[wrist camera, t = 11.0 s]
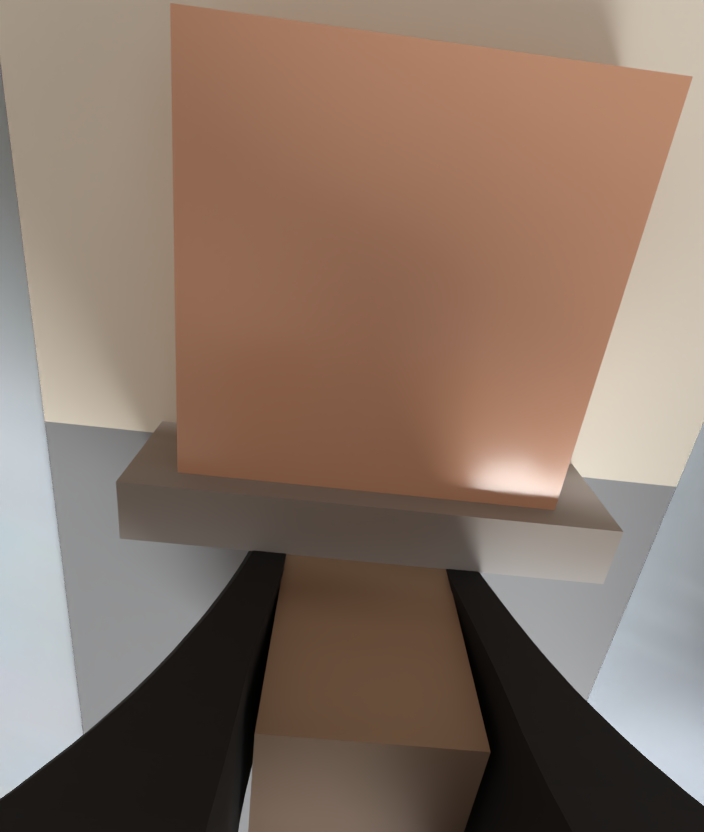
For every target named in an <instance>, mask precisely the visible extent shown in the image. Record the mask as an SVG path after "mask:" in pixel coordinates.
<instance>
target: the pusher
mask: <svg viewBox="0 0 704 832" xmlns="http://www.w3.org/2000/svg"><path fill="white" fill-rule="evenodd" d="M116 490H117V504H118V519H119V534H120V539H129V540H139V541H150V542H161V543H171V544H182V545H193V546H203V547H214V548H224V549H235V550H246V551H253V550H255V551H265V552H275V553H285V554H286V558H285V564H284V570H283V575H282V578H281V584H280V590H279V596H278V601H277V607H276V613H275V619H274V625H273V630H272V636H271V642H270V648H269V653H268V659H267V665H266V671H265V676H264V682H263V688H262V694H261V700H260V705H259V711H258V717H257V723H256V728H255V735H254V750H253V766H252V781H251V796H250V811H249V827H248V832H464V830H465V827H466V824H467V821H468V818H469V815H470V812H471V809H472V806H473V803H474V800H475V797H476V794H477V791H478V788H479V786H480V783H481V780H482V777H483V774H484V771H485V768H486V765H487V762H488V759H489V756H490V753H491V752H490V747H489V743H488V739H487V735H486V731H485V727H484V722H483V718H482V714H481V710H480V706H479V702H478V697H477V693H476V689H475V685H474V681H473V677H472V672H471V668H470V664H469V660H468V656H467V652H466V647H465V643H464V639H463V635H462V631H461V627H460V622H459V618H458V614H457V610H456V606H455V602H454V597H453V594H452V591H451V588H450V584H449V580H448V575H447V571H446V569H455V570H466V571H477V572H480V573H491V574H501V575H512V576H523V577H533V578H544V579H554V580H565V581H576V582H586V583H597V584H604V581H605V579H606V576H607V573H608V571H609V568H610V566H611V563H612V561H613V558H614V555H615V553H616V550H617V548H618V545H619V542H620V540H621V537H622V535H623V530H622V529H621V528H620V526H619V525H618V524H617V523H616V521H615V520H614V519H613V517H612V516H611V515H610V513H609V512H608V511H607V509H606V508H605V507H604V505H603V504H602V503H601V501H600V500H599V499H598V497H597V496H596V495H595V494H594V492H593V491H592V490H591V488H590V487H589V486H588V484H587V483H586V482H585V480H584V479H583V478H582V476H581V475H580V474H579V472H578V471H577V470H576V468H575V467H574V466H573V464H569V467H568V470H567V473H566V476H565V479H564V483H563V486H562V489H561V492H560V495H559V498H558V501H557V505H556V508H555V510H549V509H539V508H529V507H519V506H509V505H499V504H489V503H479V502H469V501H459V500H449V499H439V498H429V497H419V496H409V495H399V494H389V493H379V492H369V491H359V490H349V489H339V488H329V487H319V486H309V485H299V484H289V483H279V482H269V481H259V480H249V479H239V478H229V477H219V476H209V475H199V474H189V473H179V472H178V470H177V423H175V422H165V421H162V422H161V423H160V425H159V426H158V427H157V429H156V430H155V431H154V433H153V434H152V435H151V436H150V438H149V439H148V440H147V442H146V443H145V444H144V446H143V447H142V448H141V450H140V451H139V452H138V453H137V455H136V456H135V457H134V459H133V460H132V461H131V463H130V464H129V465H128V467H127V468H126V469H125V470H124V472H123V473H122V474H121V476H120V477H119V478H118V480H117V481H116Z"/></svg>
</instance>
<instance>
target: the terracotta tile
mask: <svg viewBox="0 0 704 832" xmlns="http://www.w3.org/2000/svg"><path fill="white" fill-rule="evenodd" d="M170 22H171V86H172V150H173V214H174V278H175V342H176V406H177V470H178V472H179V473H189V474H199V475H209V476H219V477H229V478H239V479H249V480H259V481H269V482H279V483H289V484H299V485H309V486H319V487H329V488H339V489H349V490H359V491H369V492H379V493H389V494H399V495H409V496H419V497H429V498H439V499H449V500H459V501H469V502H479V503H489V504H499V505H509V506H519V507H529V508H539V509H549V510H555V508H556V505H557V501H558V498H559V495H560V492H561V489H562V486H563V483H564V479H565V476H566V473H567V470H568V467H569V464H570V461H571V457H572V454H573V451H574V448H575V445H576V442H577V439H578V435H579V432H580V429H581V426H582V423H583V420H584V417H585V413H586V410H587V407H588V404H589V401H590V398H591V395H592V392H593V388H594V385H595V382H596V379H597V376H598V373H599V370H600V366H601V363H602V360H603V357H604V354H605V351H606V348H607V344H608V341H609V338H610V335H611V332H612V329H613V326H614V322H615V319H616V316H617V313H618V310H619V307H620V304H621V300H622V297H623V294H624V291H625V288H626V285H627V282H628V279H629V275H630V272H631V269H632V266H633V263H634V260H635V257H636V253H637V250H638V247H639V244H640V241H641V238H642V235H643V231H644V228H645V225H646V222H647V219H648V216H649V213H650V209H651V206H652V203H653V200H654V197H655V194H656V191H657V188H658V184H659V181H660V178H661V175H662V172H663V169H664V166H665V162H666V159H667V156H668V153H669V150H670V147H671V144H672V140H673V137H674V134H675V131H676V128H677V125H678V122H679V118H680V115H681V112H682V109H683V106H684V103H685V100H686V96H687V93H688V90H689V87H690V84H691V81H692V78H693V76H686V75H678V74H671V73H664V72H657V71H650V70H643V69H636V68H629V67H622V66H615V65H607V64H600V63H593V62H586V61H579V60H572V59H565V58H558V57H551V56H544V55H536V54H529V53H522V52H515V51H508V50H501V49H494V48H487V47H480V46H472V45H465V44H458V43H451V42H444V41H437V40H430V39H423V38H416V37H409V36H401V35H394V34H387V33H380V32H373V31H366V30H359V29H352V28H345V27H338V26H330V25H323V24H316V23H309V22H302V21H295V20H288V19H281V18H274V17H267V16H259V15H252V14H245V13H238V12H231V11H224V10H217V9H210V8H203V7H195V6H188V5H181V4H174V3H170Z"/></svg>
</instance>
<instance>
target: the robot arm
mask: <svg viewBox="0 0 704 832" xmlns="http://www.w3.org/2000/svg"><path fill="white" fill-rule="evenodd" d="M285 558H286V554H285V553H275V552H265V551H255V550H253V551H248V553H247V555H246V557H245V558H244V560H243V562H242V563H241V565H240V566H239V568H238V569H237V571H236V572H235V574H234V575H233V577H232V578H231V579H230V581H229V582H228V584H227V585H226V587H225V588H224V589H223V591H222V592H221V593H220V594H219V596H218V597H217V598H216V600H215V601H214V602H213V604H212V605H211V606H210V607H209V609H208V610H207V611H206V613H205V614H204V615H203V616H202V617H201V619H200V620H199V621H198V622H197V623H196V625H195V626H194V627H193V628H192V629H191V630H190V631H189V633H188V634H187V635H186V636H185V637H184V638H183V639H182V641H181V642H180V643H179V644H178V645H177V646H176V647H175V649H174V650H173V651H172V652H171V653H170V654H169V655H168V656H167V657H166V658H165V659H164V660H163V661H162V662H161V663H160V665H159V666H158V667H157V668H156V669H155V670H154V671H153V672H152V673H151V674H150V675H149V676H148V677H147V678H146V679H145V680H144V681H142V682H141V683H140V684H139V685H138V686H137V687H136V688H135V689H134V690H133V691H132V692H131V693H130V694H129V695H128V696H127V697H126V698H125V699H123V700H122V701H121V702H120V703H119V704H118V705H117V706H116V707H115V708H113V709H112V710H111V711H110V712H109V713H108V714H107V715H106V716H104V717H103V718H102V719H101V720H100V721H99V722H98V723H97V724H96V725H94V726H93V727H92V728H91V729H90V730H88V731H87V732H86V733H85V734H84V735H83V736H81V737H80V738H79V739H78V740H76V741H75V742H74V743H73V744H72V745H70V746H69V747H68V748H66V749H65V750H64V751H63V752H61V753H60V754H59V755H57V756H56V757H55V758H54V759H52V760H51V761H50V762H48V763H47V764H46V765H44V766H43V767H42V768H41V769H39V770H38V771H37V772H35V773H34V774H33V775H32V776H30V777H29V778H28V779H26V780H25V781H24V782H22V783H21V784H20V785H19V786H17V787H16V788H15V789H13V790H12V791H11V792H9V793H8V794H6V795H5V796H4V797H2V798H1V799H0V832H238V830H239V823H240V818H241V813H242V808H243V803H244V798H245V793H246V789H247V785H248V781H249V777H250V772H251V768H252V764H253V750H254V735H255V728H256V723H257V717H258V711H259V705H260V700H261V694H262V688H263V682H264V676H265V671H266V665H267V659H268V653H269V648H270V642H271V636H272V630H273V625H274V619H275V613H276V607H277V601H278V596H279V590H280V584H281V578H282V575H283V570H284V564H285ZM446 571H447V575H448V580H449V584H450V588H451V591H452V594H453V597H454V602H455V606H456V610H457V614H458V618H459V622H460V627H461V631H462V635H463V639H464V643H465V647H466V652H467V656H468V660H469V664H470V668H471V672H472V677H473V681H474V685H475V689H476V693H477V697H478V702H479V706H480V710H481V714H482V718H483V722H484V727H485V731H486V735H487V739H488V743H489V747H490V752H491V753H490V756H489V759H488V762H487V765H486V768H485V771H484V774H483V777H482V780H481V783H480V786H479V788H478V791H477V794H476V797H475V800H474V803H473V806H472V809H471V812H470V815H469V818H468V821H467V824H466V827H465V830H464V832H704V806H703V805H702V804H701V803H699V802H698V801H697V800H696V799H694V798H693V797H692V796H691V795H689V794H688V793H687V792H686V791H684V790H683V789H682V788H681V787H680V786H679V785H677V784H676V783H675V782H674V781H673V780H672V779H670V778H669V777H668V776H667V775H666V774H665V773H663V772H662V771H661V770H660V769H659V768H658V767H656V766H655V765H654V764H653V763H652V762H651V761H649V760H648V759H647V758H646V757H645V756H644V755H643V754H641V753H640V752H639V751H638V750H637V749H636V748H635V747H634V746H633V745H632V744H630V743H629V742H628V741H627V740H626V739H625V738H624V737H623V736H622V735H621V734H620V733H619V732H618V731H617V730H616V729H615V728H613V727H612V726H611V725H610V724H609V723H608V722H607V721H606V720H605V719H604V718H603V717H602V716H601V715H600V714H599V713H598V712H597V711H596V710H595V709H594V708H593V707H592V706H591V705H590V704H589V703H588V702H587V701H586V700H585V699H584V698H583V697H582V696H581V695H580V694H579V693H578V692H577V691H576V690H575V689H574V688H573V686H572V685H571V684H570V683H569V682H568V681H567V680H566V679H565V678H564V677H563V675H562V674H561V673H560V672H559V671H558V670H557V669H556V668H555V667H554V665H553V664H552V663H551V662H550V661H549V660H548V659H547V658H546V656H545V655H544V654H543V653H542V652H541V651H540V649H539V648H538V647H537V646H536V645H535V643H534V642H533V641H532V640H531V638H530V637H529V636H528V635H527V634H526V632H525V631H524V630H523V629H522V627H521V626H520V625H519V624H518V622H517V621H516V620H515V619H514V617H513V616H512V615H511V613H510V612H509V611H508V610H507V608H506V607H505V606H504V604H503V603H502V602H501V600H500V599H499V598H498V596H497V595H496V594H495V592H494V591H493V590H492V588H491V587H490V586H489V584H488V583H487V582H486V580H485V579H484V578H483V576H482V575H481V574H480V573H479V572H477V571H466V570H455V569H446Z"/></svg>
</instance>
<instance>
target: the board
mask: <svg viewBox="0 0 704 832" xmlns="http://www.w3.org/2000/svg"><path fill="white" fill-rule="evenodd" d="M170 3H174V4H181V5H188V6H195V7H203V8H210V9H217V10H224V11H231V12H238V13H245V14H252V15H259V16H267V17H274V18H281V19H288V20H295V21H302V22H309V23H316V24H323V25H330V26H338V27H345V28H352V29H359V30H366V31H373V32H380V33H387V34H394V35H401V36H409V37H416V38H423V39H430V40H437V41H444V42H451V43H458V44H465V45H472V46H480V47H487V48H494V49H501V50H508V51H515V52H522V53H529V54H536V55H544V56H551V57H558V58H565V59H572V60H579V61H586V62H593V63H600V64H607V65H615V66H622V67H629V68H636V69H643V70H650V71H657V72H664V73H671V74H678V75H686V76H693V78H692V81H691V84H690V87H689V90H688V93H687V96H686V100H685V103H684V106H683V109H682V112H681V115H680V118H679V122H678V125H677V128H676V131H675V134H674V137H673V140H672V144H671V147H670V150H669V153H668V156H667V159H666V162H665V166H664V169H663V172H662V175H661V178H660V181H659V184H658V188H657V191H656V194H655V197H654V200H653V203H652V206H651V209H650V213H649V216H648V219H647V222H646V225H645V228H644V231H643V235H642V238H641V241H640V244H639V247H638V250H637V253H636V257H635V260H634V263H633V266H632V269H631V272H630V275H629V279H628V282H627V285H626V288H625V291H624V294H623V297H622V300H621V304H620V307H619V310H618V313H617V316H616V319H615V322H614V326H613V329H612V332H611V335H610V338H609V341H608V344H607V348H606V351H605V354H604V357H603V360H602V363H601V366H600V370H599V373H598V376H597V379H596V382H595V385H594V388H593V392H592V395H591V398H590V401H589V404H588V407H587V410H586V413H585V417H584V420H583V423H582V426H581V429H580V432H579V435H578V439H577V442H576V445H575V448H574V451H573V454H572V457H571V461H570V464H573V466H574V467H575V468H576V470H577V471H578V472H579V474H580V475H581V476H582V478H583V479H584V480H585V482H586V483H587V484H588V486H589V487H590V488H591V490H592V491H593V492H594V494H595V495H596V496H597V497H598V499H599V500H600V501H601V503H602V504H603V505H604V507H605V508H606V509H607V511H608V512H609V513H610V515H611V516H612V517H613V519H614V520H615V521H616V523H617V524H618V525H619V526H620V528H621V529H622V530H623V535H622V537H621V540H620V542H619V545H618V548H617V550H616V553H615V555H614V558H613V561H612V563H611V566H610V568H609V571H608V573H607V576H606V579H605V581H604V584H597V583H586V582H576V581H565V580H554V579H544V578H533V577H523V576H512V575H501V574H491V573H480V572H479V573H480V574H481V575H482V576H483V578H484V579H485V580H486V582H487V583H488V584H489V586H490V587H491V588H492V590H493V591H494V592H495V594H496V595H497V596H498V598H499V599H500V600H501V602H502V603H503V604H504V606H505V607H506V608H507V610H508V611H509V612H510V613H511V615H512V616H513V617H514V619H515V620H516V621H517V622H518V624H519V625H520V626H521V627H522V629H523V630H524V631H525V632H526V634H527V635H528V636H529V637H530V638H531V640H532V641H533V642H534V643H535V645H536V646H537V647H538V648H539V649H540V651H541V652H542V653H543V654H544V655H545V656H546V658H547V659H548V660H549V661H550V662H551V663H552V664H553V665H554V667H555V668H556V669H557V670H558V671H559V672H560V673H561V674H562V675H563V677H564V678H565V679H566V680H567V681H568V682H569V683H570V684H571V685H572V686H573V688H574V689H575V690H576V691H577V692H578V693H579V694H580V695H581V696H582V697H583V698H584V699H585V700H586V701H587V699H588V697H589V695H590V692H591V690H592V687H593V685H594V683H595V680H596V678H597V675H598V673H599V671H600V668H601V666H602V664H603V661H604V659H605V656H606V654H607V652H608V649H609V647H610V644H611V642H612V640H613V637H614V635H615V632H616V630H617V628H618V625H619V623H620V621H621V618H622V616H623V613H624V611H625V609H626V606H627V604H628V601H629V599H630V597H631V594H632V592H633V589H634V587H635V585H636V582H637V580H638V578H639V575H640V573H641V570H642V568H643V566H644V563H645V561H646V558H647V556H648V554H649V551H650V549H651V546H652V544H653V542H654V539H655V537H656V535H657V532H658V530H659V527H660V525H661V523H662V520H663V518H664V515H665V513H666V511H667V508H668V506H669V503H670V501H671V499H672V496H673V494H674V492H675V489H676V487H677V484H678V482H679V480H680V477H681V475H682V472H683V470H684V468H685V465H686V463H687V461H688V458H689V456H690V453H691V451H692V449H693V446H694V444H695V441H696V439H697V437H698V434H699V432H700V429H701V427H702V425H703V422H704V0H0V63H1V71H2V79H3V87H4V95H5V103H6V111H7V119H8V127H9V135H10V144H11V152H12V160H13V168H14V176H15V184H16V192H17V200H18V208H19V216H20V224H21V233H22V241H23V249H24V257H25V265H26V273H27V281H28V289H29V297H30V305H31V313H32V322H33V330H34V338H35V346H36V354H37V362H38V370H39V378H40V386H41V394H42V403H43V411H44V419H45V427H46V435H47V443H48V451H49V459H50V467H51V475H52V483H53V492H54V500H55V508H56V516H57V524H58V532H59V540H60V548H61V556H62V564H63V572H64V581H65V589H66V597H67V605H68V613H69V621H70V629H71V637H72V645H73V653H74V662H75V670H76V678H77V686H78V694H79V702H80V710H81V718H82V726H83V734H85V733H86V732H87V731H88V730H90V729H91V728H92V727H93V726H94V725H96V724H97V723H98V722H99V721H100V720H101V719H102V718H103V717H104V716H106V715H107V714H108V713H109V712H110V711H111V710H112V709H113V708H115V707H116V706H117V705H118V704H119V703H120V702H121V701H122V700H123V699H125V698H126V697H127V696H128V695H129V694H130V693H131V692H132V691H133V690H134V689H135V688H136V687H137V686H138V685H139V684H140V683H141V682H142V681H144V680H145V679H146V678H147V677H148V676H149V675H150V674H151V673H152V672H153V671H154V670H155V669H156V668H157V667H158V666H159V665H160V663H161V662H162V661H163V660H164V659H165V658H166V657H167V656H168V655H169V654H170V653H171V652H172V651H173V650H174V649H175V647H176V646H177V645H178V644H179V643H180V642H181V641H182V639H183V638H184V637H185V636H186V635H187V634H188V633H189V631H190V630H191V629H192V628H193V627H194V626H195V625H196V623H197V622H198V621H199V620H200V619H201V617H202V616H203V615H204V614H205V613H206V611H207V610H208V609H209V607H210V606H211V605H212V604H213V602H214V601H215V600H216V598H217V597H218V596H219V594H220V593H221V592H222V591H223V589H224V588H225V587H226V585H227V584H228V582H229V581H230V579H231V578H232V577H233V575H234V574H235V572H236V571H237V569H238V568H239V566H240V565H241V563H242V562H243V560H244V558H245V557H246V555H247V553H248V551H246V550H235V549H224V548H214V547H203V546H193V545H182V544H171V543H161V542H150V541H139V540H129V539H120V534H119V519H118V504H117V490H116V481H117V480H118V478H119V477H120V476H121V474H122V473H123V472H124V470H125V469H126V468H127V467H128V465H129V464H130V463H131V461H132V460H133V459H134V457H135V456H136V455H137V453H138V452H139V451H140V450H141V448H142V447H143V446H144V444H145V443H146V442H147V440H148V439H149V438H150V436H151V435H152V434H153V433H154V431H155V430H156V429H157V427H158V426H159V425H160V423H161V422H162V421H165V422H175V423H177V406H176V342H175V278H174V214H173V150H172V86H171V22H170ZM252 766H253V764H252ZM251 781H252V768H251V772H250V777H249V781H248V785H247V789H246V793H245V798H244V803H243V808H242V813H241V818H240V823H239V830H238V832H248V827H249V811H250V796H251Z"/></svg>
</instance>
